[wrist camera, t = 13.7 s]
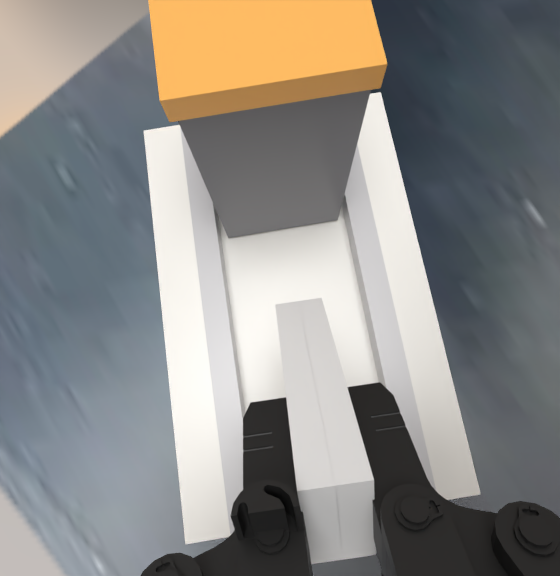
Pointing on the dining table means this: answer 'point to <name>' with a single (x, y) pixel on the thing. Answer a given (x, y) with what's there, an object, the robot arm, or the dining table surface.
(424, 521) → the robot arm
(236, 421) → the railed base plate
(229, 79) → the handle
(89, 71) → the dining table surface
